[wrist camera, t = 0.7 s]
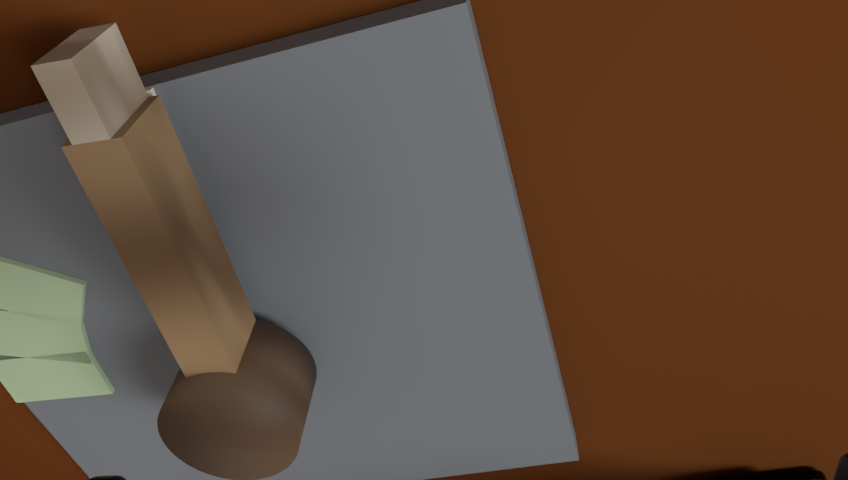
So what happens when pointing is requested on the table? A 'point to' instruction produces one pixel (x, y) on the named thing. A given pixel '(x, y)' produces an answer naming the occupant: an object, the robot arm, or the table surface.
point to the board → (305, 259)
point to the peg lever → (178, 267)
